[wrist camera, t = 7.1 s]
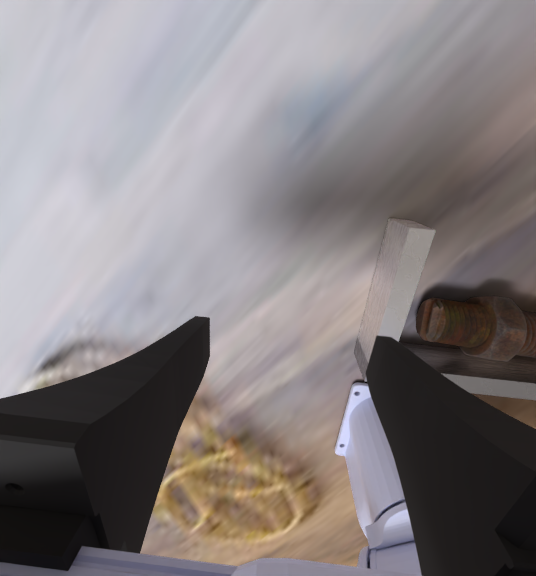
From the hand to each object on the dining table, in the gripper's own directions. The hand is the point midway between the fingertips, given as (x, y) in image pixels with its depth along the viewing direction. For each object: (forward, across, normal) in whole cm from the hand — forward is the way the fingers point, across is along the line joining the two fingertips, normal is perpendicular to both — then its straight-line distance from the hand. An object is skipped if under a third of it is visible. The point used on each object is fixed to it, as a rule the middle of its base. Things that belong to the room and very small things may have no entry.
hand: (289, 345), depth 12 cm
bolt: (+10, -18, +2) cm, 21 cm away
